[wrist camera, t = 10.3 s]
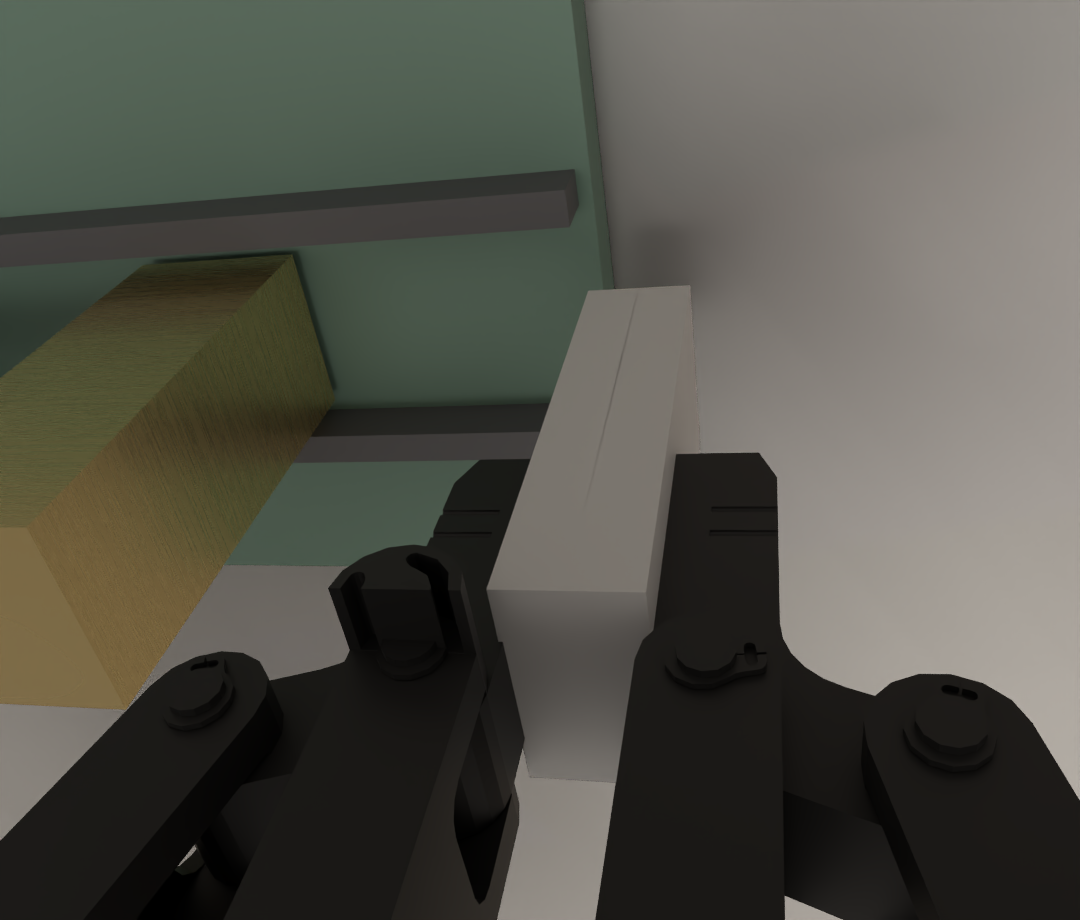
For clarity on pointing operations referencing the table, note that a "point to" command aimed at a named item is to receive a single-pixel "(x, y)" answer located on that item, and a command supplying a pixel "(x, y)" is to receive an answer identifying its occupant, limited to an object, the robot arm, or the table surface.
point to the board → (324, 215)
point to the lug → (144, 467)
